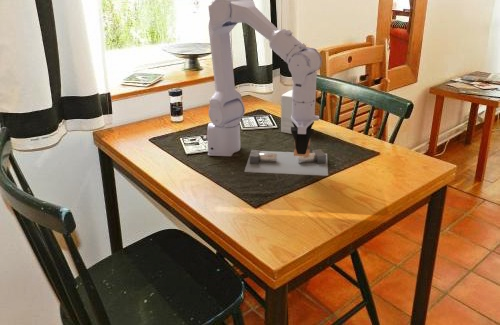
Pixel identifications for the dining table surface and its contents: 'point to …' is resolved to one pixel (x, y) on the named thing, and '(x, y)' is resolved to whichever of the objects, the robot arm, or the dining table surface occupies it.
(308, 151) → the taped shipping carton
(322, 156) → the output shaft
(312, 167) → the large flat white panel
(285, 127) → the supplement box
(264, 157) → the input shaft
